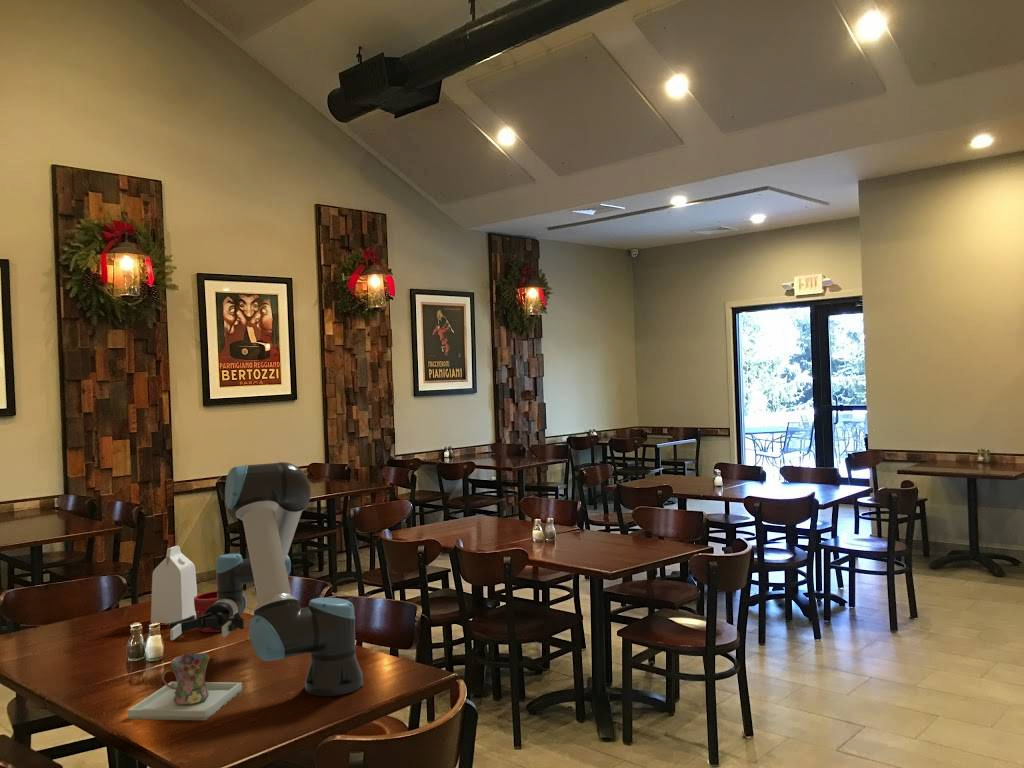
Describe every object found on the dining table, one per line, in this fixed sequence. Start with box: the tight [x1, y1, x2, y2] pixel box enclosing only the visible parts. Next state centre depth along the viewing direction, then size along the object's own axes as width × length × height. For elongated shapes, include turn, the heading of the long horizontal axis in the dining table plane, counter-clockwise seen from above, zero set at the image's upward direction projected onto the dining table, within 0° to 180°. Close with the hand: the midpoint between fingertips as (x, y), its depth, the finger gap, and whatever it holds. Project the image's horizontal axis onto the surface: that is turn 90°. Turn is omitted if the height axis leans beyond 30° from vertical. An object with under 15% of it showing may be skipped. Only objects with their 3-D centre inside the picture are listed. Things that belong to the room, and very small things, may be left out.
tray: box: [127, 681, 243, 721], centre depth 214 cm, size 20×20×2 cm
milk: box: [150, 545, 198, 624], centre depth 296 cm, size 12×12×26 cm
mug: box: [161, 652, 210, 704], centre depth 213 cm, size 12×9×11 cm
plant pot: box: [194, 590, 222, 633], centre depth 284 cm, size 13×13×12 cm
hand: (197, 633), depth 224 cm, fingers open, 13 cm apart
